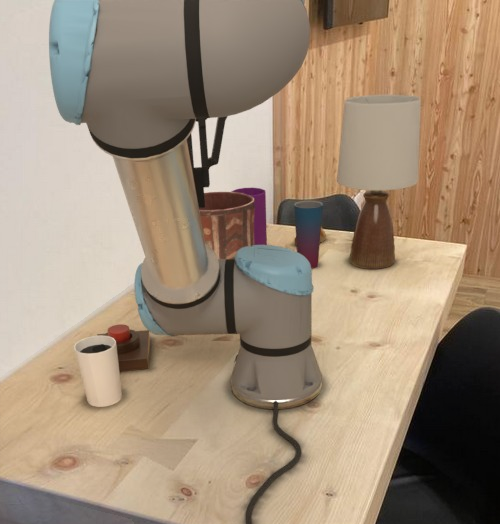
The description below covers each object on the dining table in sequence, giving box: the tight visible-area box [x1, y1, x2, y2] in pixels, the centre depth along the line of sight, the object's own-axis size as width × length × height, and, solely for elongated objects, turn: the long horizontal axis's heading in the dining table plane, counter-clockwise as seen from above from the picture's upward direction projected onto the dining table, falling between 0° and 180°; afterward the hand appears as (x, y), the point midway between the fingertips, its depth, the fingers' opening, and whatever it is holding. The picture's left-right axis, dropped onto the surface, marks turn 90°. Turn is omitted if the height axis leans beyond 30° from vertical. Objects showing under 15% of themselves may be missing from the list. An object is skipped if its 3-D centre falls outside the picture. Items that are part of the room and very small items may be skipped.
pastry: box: [294, 226, 328, 245], centre depth 172 cm, size 9×7×4 cm
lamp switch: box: [107, 323, 131, 343], centre depth 117 cm, size 4×4×2 cm
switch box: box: [96, 329, 151, 372], centre depth 118 cm, size 12×10×4 cm
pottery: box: [199, 191, 255, 259], centre depth 149 cm, size 18×18×18 cm
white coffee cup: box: [73, 335, 123, 408], centre depth 104 cm, size 7×7×10 cm
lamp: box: [336, 94, 422, 270], centre depth 149 cm, size 19×19×37 cm
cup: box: [293, 199, 324, 269], centre depth 154 cm, size 7×7×15 cm
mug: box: [230, 187, 268, 245], centre depth 164 cm, size 9×16×15 cm, turn 163°
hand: (200, 205), depth 116 cm, fingers closed
